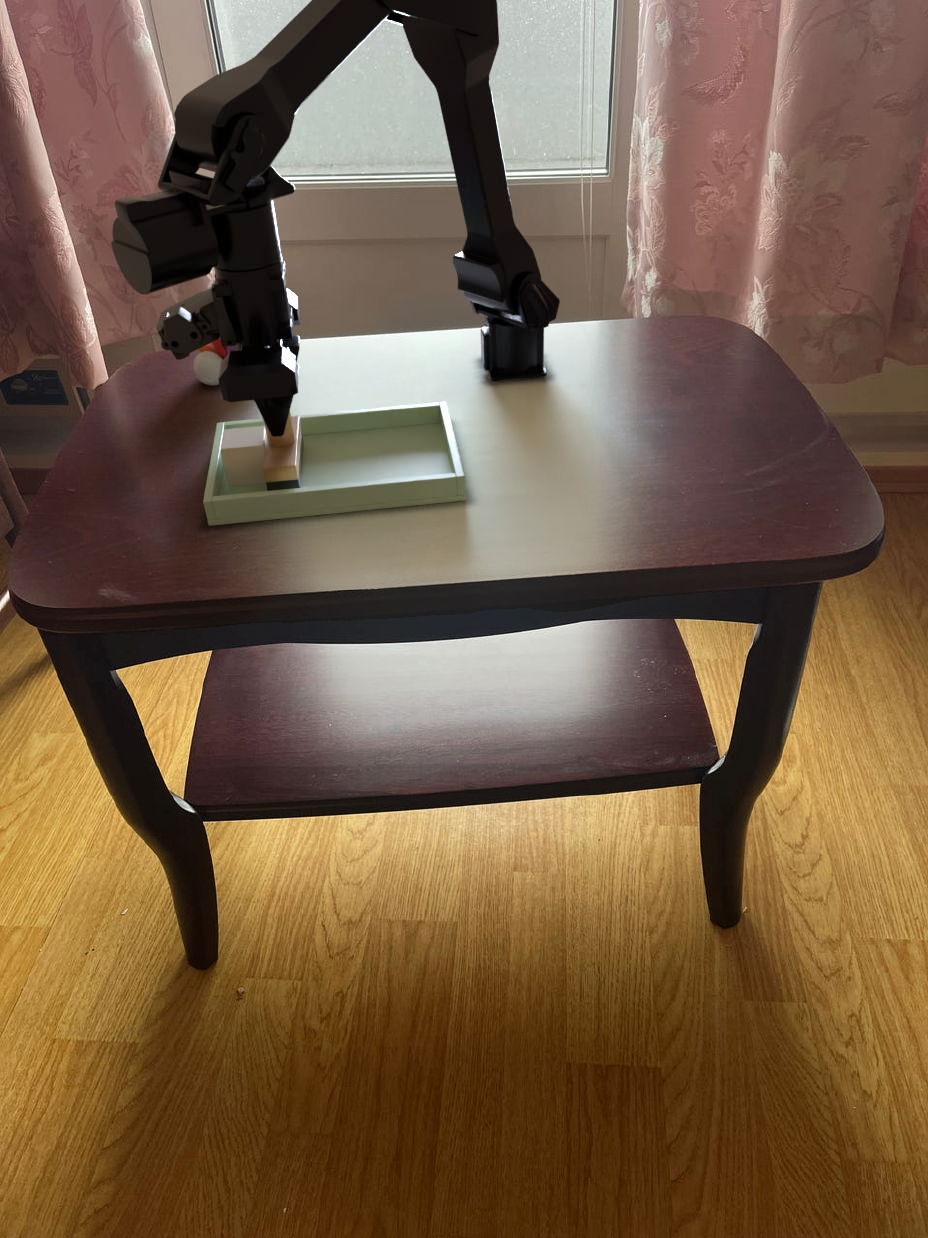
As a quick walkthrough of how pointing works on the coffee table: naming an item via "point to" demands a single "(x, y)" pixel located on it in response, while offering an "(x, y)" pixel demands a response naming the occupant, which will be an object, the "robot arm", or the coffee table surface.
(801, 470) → the coffee table surface
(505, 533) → the coffee table surface
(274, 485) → the brush
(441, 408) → the tray
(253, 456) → the chalk block
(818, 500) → the coffee table surface
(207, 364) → the rainbow petal wheeled toy
